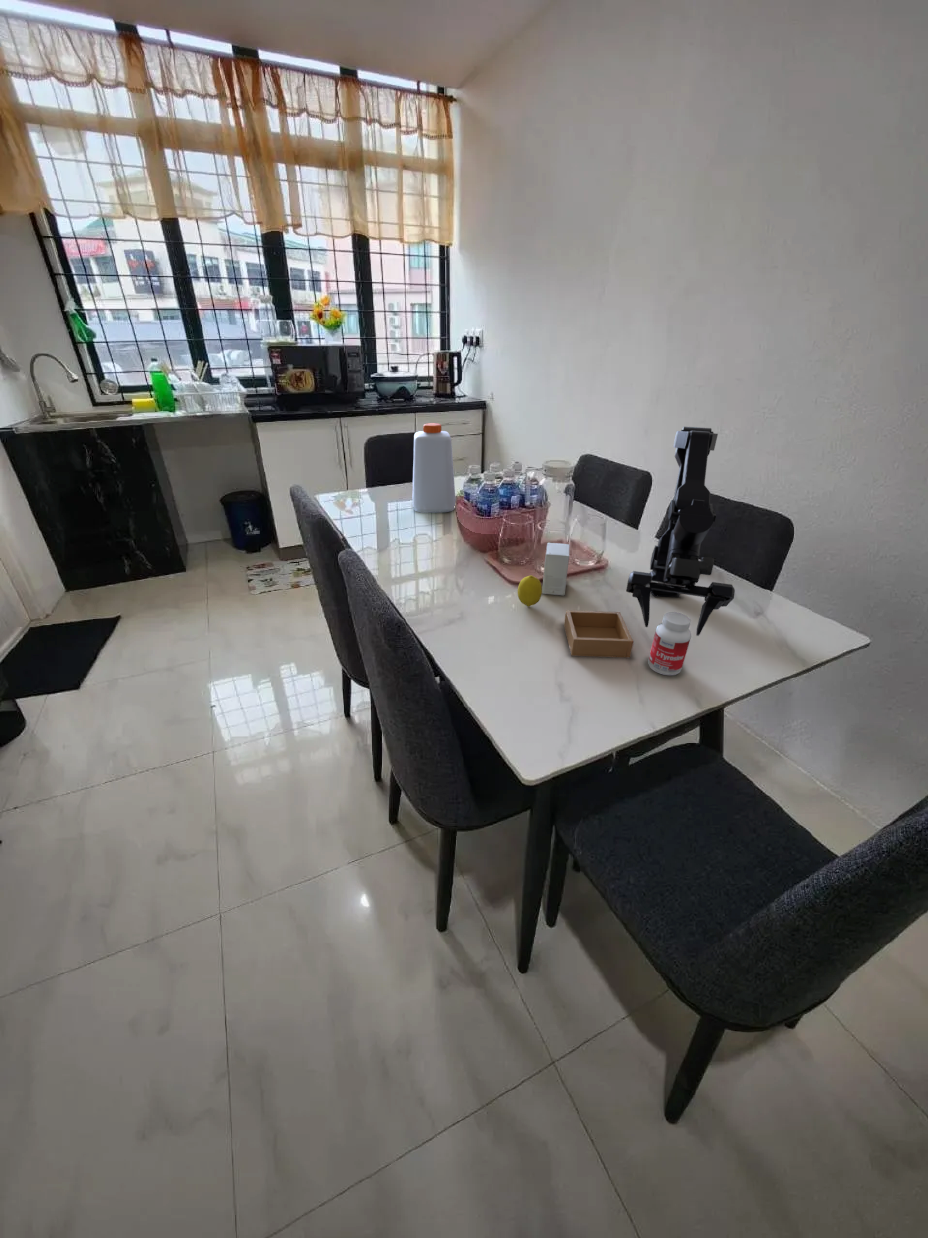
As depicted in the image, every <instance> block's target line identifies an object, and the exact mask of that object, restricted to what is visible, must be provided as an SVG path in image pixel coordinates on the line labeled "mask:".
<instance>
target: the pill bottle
mask: <svg viewBox="0 0 928 1238" xmlns="http://www.w3.org/2000/svg"><path fill="white" fill-rule="evenodd" d="M691 623H692V620H691V618H690V616H688V615H687V614H685V613H682V612H678V611H668V612H665V613H664V614H663V617H662V622H661V623H659V624H658V625H657V626H656V629H655V632H654V636H653V640H652V643H651V647H650V650H649V651H650V652H649V656H648V660H647V664H648V667H649V668H650V669H651V670H652V671H653V672H655V673H658V674H660V675H662V676H663V675H664V676H676V675H678V674H679V673H681V671H682V669H683V666H684V663H685V659H686V656H687V652H688V649H689V646H690V642H691V639H692V631H691V630H690V626H691Z"/></svg>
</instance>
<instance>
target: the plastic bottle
mask: <svg viewBox="0 0 928 1238" xmlns="http://www.w3.org/2000/svg"><path fill="white" fill-rule="evenodd" d="M452 440H453V439H452V437H451V435H450V433H449V432H448V431H446V430H442V424H441V423H437V422H428V423H424V424H423V425H422V430H419V431H416V432H415V433H414V435H413V462H412V463H413V464H412V465H413V466H412V499H411V500H412V509H413V510H414V511H415V512H418V513H423V514H430V513H431V514H432V513H433V514H434V513H450V512H452V511H454V510H455V509H456V507H455V508H454V506H455V501H456V489H455V488H456V487H455V474H454V473H455V471H454V457H453V443H452Z"/></svg>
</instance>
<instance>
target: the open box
mask: <svg viewBox="0 0 928 1238" xmlns="http://www.w3.org/2000/svg"><path fill="white" fill-rule="evenodd" d="M563 622H564V623H563V628H564V631H565V636H566V640H567V643H568V647H569V651H570V655H571V657H595V658H596V657H600V658H626V659H627V658H628V659H630V658H631V655H632V651H633V647H634V642H635V641H634V639H633V637H632V635H631V633H630V630H629V628H628V626H627V623H626V621H625V619H624V617H623V615H622V613H621V611H602V610H601V611H600V610H599V611H597V610H569V609H567V610H565V614H564V621H563Z"/></svg>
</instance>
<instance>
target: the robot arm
mask: <svg viewBox="0 0 928 1238" xmlns="http://www.w3.org/2000/svg"><path fill="white" fill-rule="evenodd" d="M718 435H719V434H718V433H714V431H712V428H711V427H697V426H682V429H681V430H676V433H675V437H674V441H673V448H675V451H674V458H675V460H676V463H677V466H678V473H677V478H676V483H675V489H674V495H673V499H671V500H670V504H669V508H668V512H667V518H668V520H669V521H668V525H667V530H665V532H664V534H662V536H661V537H660V538H659V539H658V542H657V545H654V548H653V550H652V553H651V557H650V563H649V564H650V565H649V570H650V571H649V572H645V571H636V570H633V571H631V572H630V573H629V576H628V578H627V583H626V588H625V591H626V592H627V593H629V594H632V595H631V596H632V597H633V598H636V600H637V601H638V604H639V607H640V609H641V614H642V619H643V624H644V628H648V627H649V624H650V610H651V609H650V608H651V595H652V596H653V597H659V598H660V597H661V598H680V597H681V595H686V596H694V597H701V598H704V602H703V604H701V608H700V614H699V617H698V621H697V626H696V632H695V633H696V635H695V636H696V637H699V636H700V635H701V633H702V631H703V630H704V627H705V625H706V623H707V621H708V620H709V618H710V616H711V614H712V613H713V612H714V610H715V611H717V610H718V611H719V609H720V608H722V607H723V608H724V607H727V606H728V605H729V604H730V603H731V602H732V601H733V600H734V599H735V594H736V593H735V592H736V589H735V587H734V585H733V584H732V583H731V584H730V583H724V582H723V583H722V582H716V581H711V583H710V585H709V586H700V585H696V584H698V582H699V580H700V577H701V575H703V576H711V575H712V573H713V569H714V562H715V558H714V557H708V556H702V557H701V558H700V554H701V553H700V552H701V544H702V543H703V542H704V541H705V538H706V536H707V535H708V533H709V531H710V530H711V528H712V526H713V524H714V523H715V522H716V518H717V514H716V511H715V510H714V506H713V503H711V491H710V490H709V489H708V488H707V486H706V475H707V465H708V457H709V455H710V453H711V451H713V452H714V451H715V449H716V444H717V440H718ZM699 559H700V560H699Z"/></svg>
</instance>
